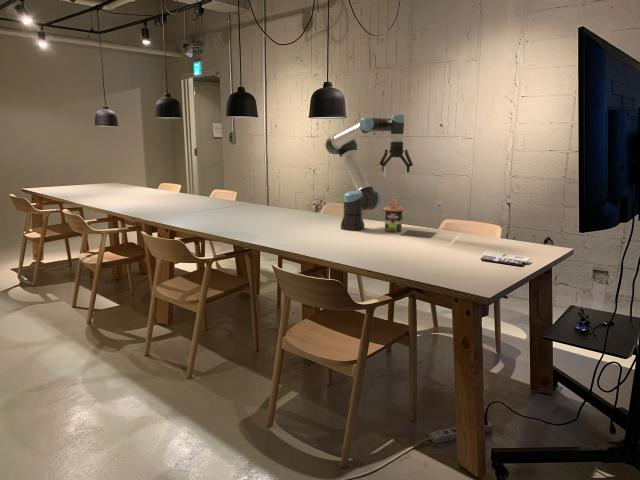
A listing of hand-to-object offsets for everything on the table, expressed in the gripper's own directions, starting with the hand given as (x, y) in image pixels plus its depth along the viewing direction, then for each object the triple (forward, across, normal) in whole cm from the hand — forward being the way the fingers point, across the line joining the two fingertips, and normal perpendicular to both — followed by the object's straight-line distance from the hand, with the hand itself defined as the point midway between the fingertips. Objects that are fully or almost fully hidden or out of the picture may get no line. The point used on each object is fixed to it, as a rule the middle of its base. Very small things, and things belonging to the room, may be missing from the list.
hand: (395, 177), depth 287 cm
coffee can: (+33, +1, -3) cm, 34 cm away
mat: (+33, +17, -3) cm, 37 cm away
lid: (+19, +1, -3) cm, 19 cm away
